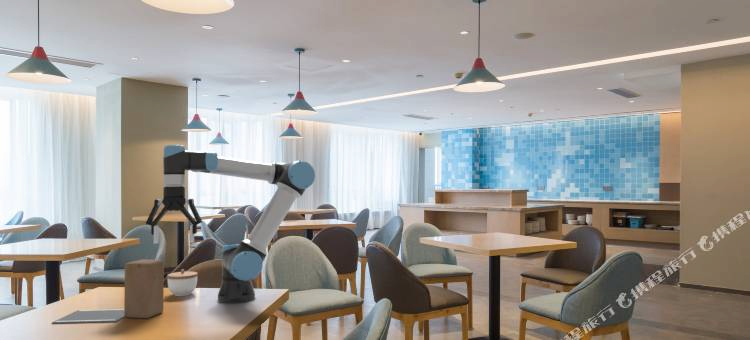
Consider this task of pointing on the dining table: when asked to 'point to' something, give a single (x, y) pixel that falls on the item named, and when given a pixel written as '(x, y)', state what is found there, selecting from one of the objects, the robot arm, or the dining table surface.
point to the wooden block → (144, 288)
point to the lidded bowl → (182, 282)
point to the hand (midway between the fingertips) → (174, 243)
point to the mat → (92, 316)
